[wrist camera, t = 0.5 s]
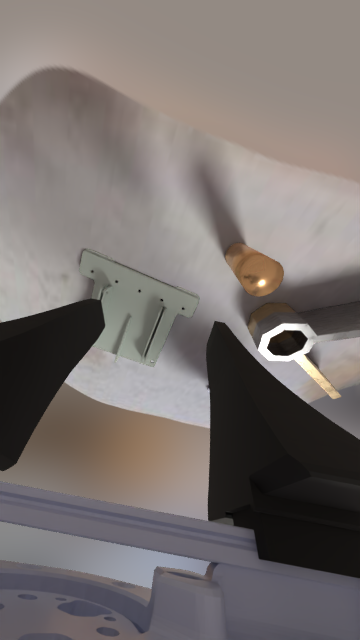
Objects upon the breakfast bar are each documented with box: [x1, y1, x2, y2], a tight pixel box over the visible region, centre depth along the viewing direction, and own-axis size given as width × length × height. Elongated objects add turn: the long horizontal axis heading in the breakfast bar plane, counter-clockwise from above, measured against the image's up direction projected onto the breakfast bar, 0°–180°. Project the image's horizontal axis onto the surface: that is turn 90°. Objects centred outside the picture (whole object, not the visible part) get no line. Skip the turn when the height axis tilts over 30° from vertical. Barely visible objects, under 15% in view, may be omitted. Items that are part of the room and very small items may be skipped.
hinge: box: [248, 302, 360, 399], centre depth 18 cm, size 16×15×4 cm
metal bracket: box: [79, 249, 200, 367], centre depth 21 cm, size 14×6×15 cm
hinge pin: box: [225, 243, 284, 296], centre depth 13 cm, size 2×2×8 cm
